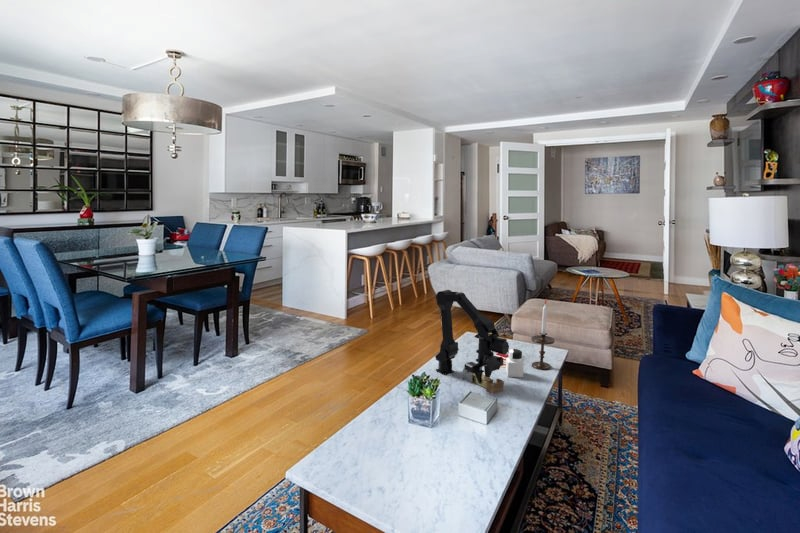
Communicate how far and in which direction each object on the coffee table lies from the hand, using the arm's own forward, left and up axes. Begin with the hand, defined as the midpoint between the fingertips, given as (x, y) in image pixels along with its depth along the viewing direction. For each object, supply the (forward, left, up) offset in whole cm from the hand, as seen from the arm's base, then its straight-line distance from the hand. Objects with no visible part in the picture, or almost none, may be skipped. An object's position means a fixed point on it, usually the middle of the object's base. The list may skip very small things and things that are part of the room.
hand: (483, 382), depth 196 cm
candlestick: (-1, +40, -1) cm, 40 cm away
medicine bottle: (-1, +21, -2) cm, 21 cm away
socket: (+7, 0, -1) cm, 7 cm away
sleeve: (-7, 0, -1) cm, 7 cm away
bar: (-2, 0, -1) cm, 3 cm away
